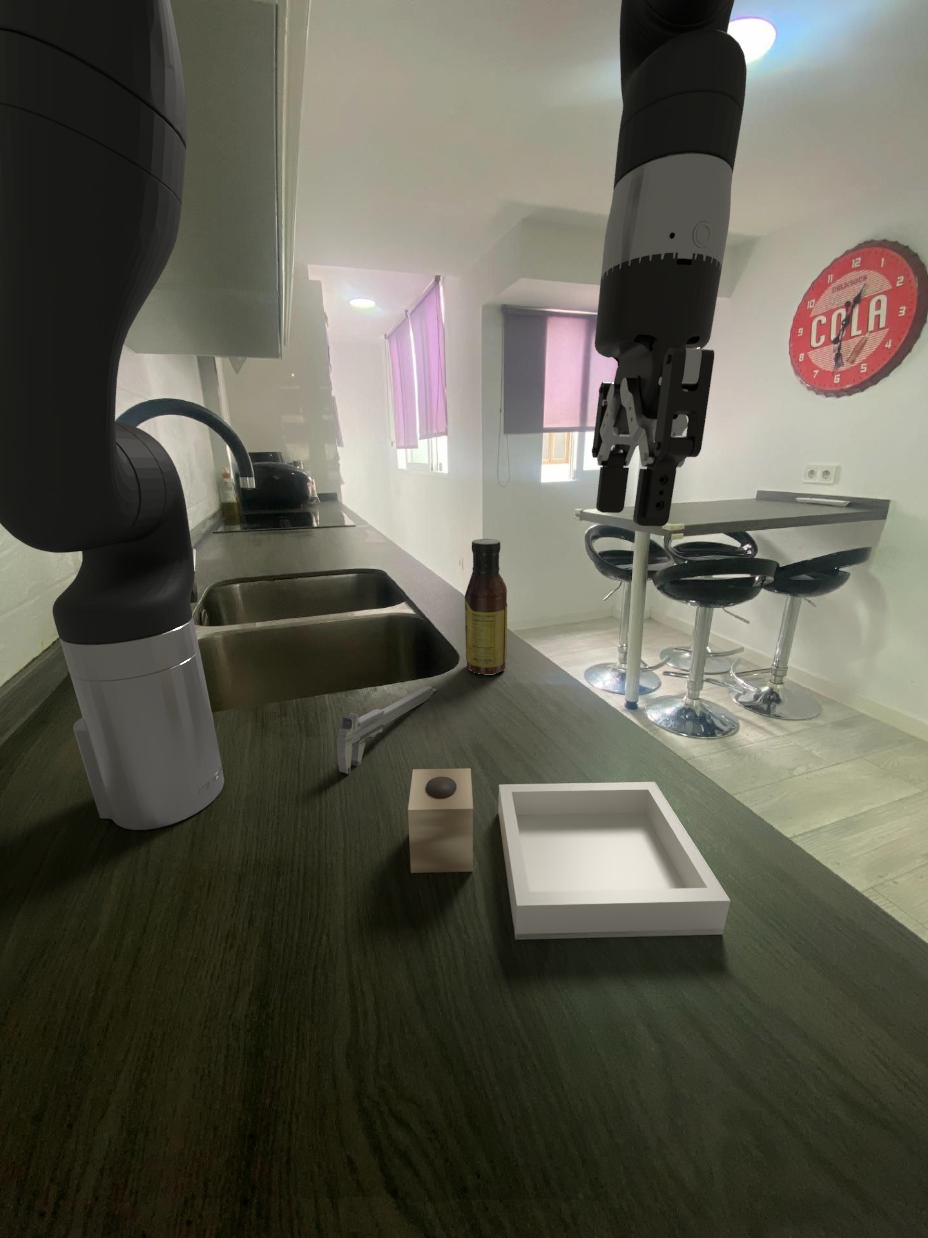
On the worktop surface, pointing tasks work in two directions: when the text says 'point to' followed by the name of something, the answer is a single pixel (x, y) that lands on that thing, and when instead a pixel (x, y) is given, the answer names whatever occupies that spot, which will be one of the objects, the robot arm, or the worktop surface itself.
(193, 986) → the worktop surface
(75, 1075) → the worktop surface
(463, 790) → the block
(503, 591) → the sauce bottle
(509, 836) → the tray
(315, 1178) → the worktop surface
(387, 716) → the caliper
